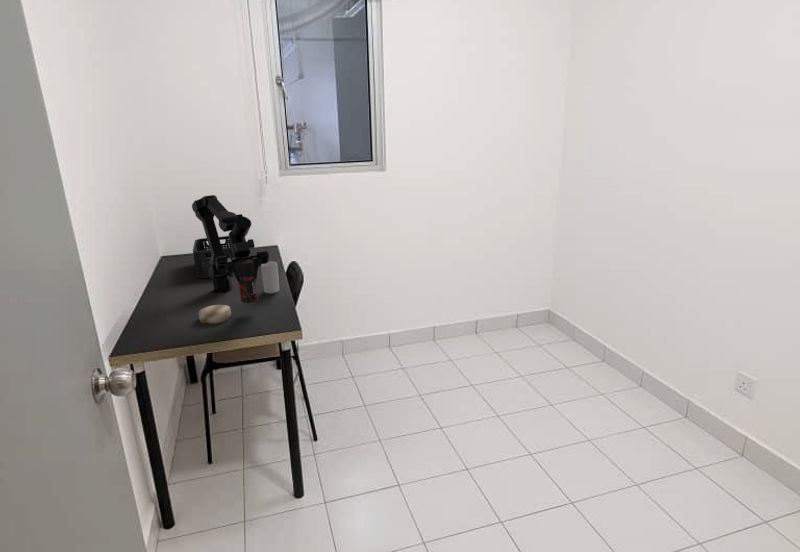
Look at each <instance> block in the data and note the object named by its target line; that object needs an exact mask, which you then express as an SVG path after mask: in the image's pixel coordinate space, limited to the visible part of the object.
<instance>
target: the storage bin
mask: <svg viewBox="0 0 800 552" xmlns="http://www.w3.org/2000/svg"><path fill="white" fill-rule="evenodd" d="M219 239H220V241H223V240H224V243H223V242H222V243H221V246H222V250H223V252H224V253H225V254H226V255H227V254H228V255H229V257H230V258H232V259H233V258H234V257H233V252H232V248H231V244H230V240H229V235H225V236H219ZM192 254H193V261H194V266H195V272H196V273H195V274H196V278H198V279H208V278H209V279H211V278H210V277H209V274H208V271H209V268H210V263H209V262H210V259H211V256H212V254H211V251H210V247H209V244H208V241H207V237H205V238H198V239H195V240H194V244H193V247H192ZM203 263H204V264H203ZM203 265H204V266H203ZM234 266H235V269H236V272H237V265H236V263H235V264H234Z"/></svg>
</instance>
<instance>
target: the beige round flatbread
mask: <svg viewBox="0 0 800 552" xmlns="http://www.w3.org/2000/svg"><path fill="white" fill-rule="evenodd" d="M198 317H199V321H200V323H202V324H205V323H207V324H206V325H209V324H210V325H211V324H212V325H213V324H219V323H223V322H225V321H227V320H229V319H231V318H230V317H232V311H231V307H230V306H229V305H227V304H214V305H209V306H205V307H203V308H201V309H200V310H199V311H198Z"/></svg>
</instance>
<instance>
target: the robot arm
mask: <svg viewBox="0 0 800 552" xmlns="http://www.w3.org/2000/svg"><path fill="white" fill-rule="evenodd" d="M191 209H192V211H193V212H194V214H195V217H196V218H197V219H198V220H200V222H201V224H202V227H203V229H204V233H205V238H207V241H206V242H207V244H208V245H209V247H210V251H211V254H212V256H211V259H210V268H209V271H208V274H209V277H210V278H209V279H212V283H213V290H212V292H213V293H227V292H229V291H231V289H233V288H234V286H233V282H232V278H231V276H232V277H234V280H235V281H236V282H238V283H239V278H238V273H237V272H236V269H235V266H234V264H235V263H236V262H237V261H239V260H244V259H250V260H253V264H254V273H255V280H257V279H258V271H259V267H261V264H266V263H268V262H269V258H270V254H269V251H267V250H259V251H256V255H251V249H255V241H254V238H250V239H249V238H248V240H247V239H246V236H247V235H248V233H249V232H250V229H251V227H252V220H251V219H250V218H249V217H246V216H243V214H242V213H240V214H239V213H238V214H236V213H235V212H233V211H229V210H227V208H226V207H225V206H224V205H223V203H221V202H220V201H219V200H218V198H217V195H214V194H210V195H204V196H203V197H201V198H200V199H195V200H194V201H193V203H191ZM214 217H216V219H217V220H218V226H219V228H220V230H221V231H222V232H223V233H226V232H229V233H228V236H229V240H230V244H231V248H232V252H233V257H234V258H233V259H232V258H230V257H229V255H228V254H227V255H226V254H225V253H224V252H223V250H222V246H221V244H222V243H221V240H220V239H219V237H220V236H219V233H218V230H217V226H216V223H215V220H214Z"/></svg>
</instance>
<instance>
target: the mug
mask: <svg viewBox="0 0 800 552" xmlns="http://www.w3.org/2000/svg"><path fill="white" fill-rule="evenodd" d="M260 271H261V278H262V284H263V291H264V293H265V294H275V293H278V292H280V280H279V268H278V262H276V261H268V263H266V264H261V266H260Z"/></svg>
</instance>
